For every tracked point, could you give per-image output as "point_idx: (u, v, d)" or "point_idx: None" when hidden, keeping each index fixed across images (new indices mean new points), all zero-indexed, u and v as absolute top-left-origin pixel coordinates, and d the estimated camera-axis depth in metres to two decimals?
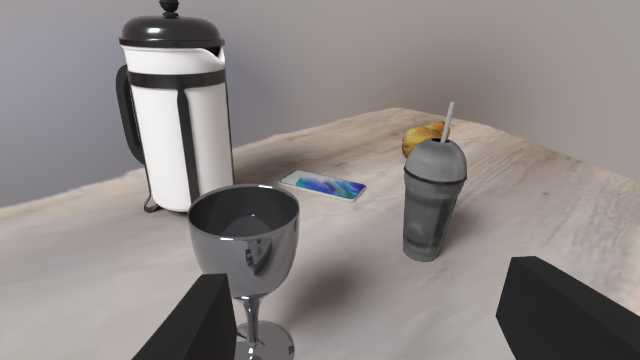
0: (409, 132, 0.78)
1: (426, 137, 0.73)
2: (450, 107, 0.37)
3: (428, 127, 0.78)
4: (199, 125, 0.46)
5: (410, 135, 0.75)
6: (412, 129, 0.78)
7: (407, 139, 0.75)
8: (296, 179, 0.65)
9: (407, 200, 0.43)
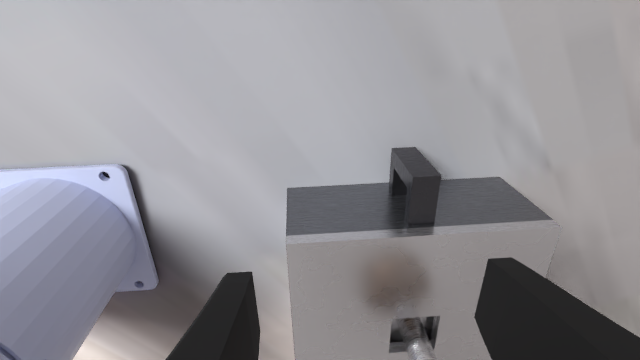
0: None
1: None
2: None
3: None
4: None
5: None
6: None
7: None
8: None
9: None
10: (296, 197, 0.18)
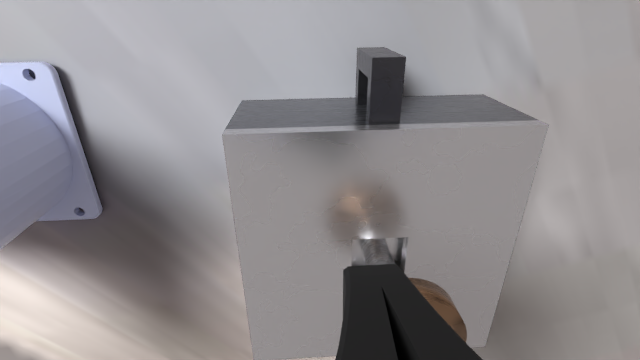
0: None
1: None
2: None
3: None
4: None
5: None
6: None
7: None
8: None
9: None
10: (249, 105, 0.16)
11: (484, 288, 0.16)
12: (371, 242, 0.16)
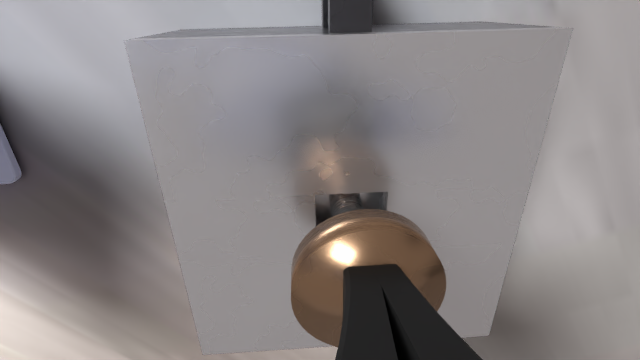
0: None
1: None
2: None
3: None
4: None
5: None
6: None
7: None
8: None
9: None
10: (186, 31, 0.13)
11: (487, 260, 0.13)
12: None
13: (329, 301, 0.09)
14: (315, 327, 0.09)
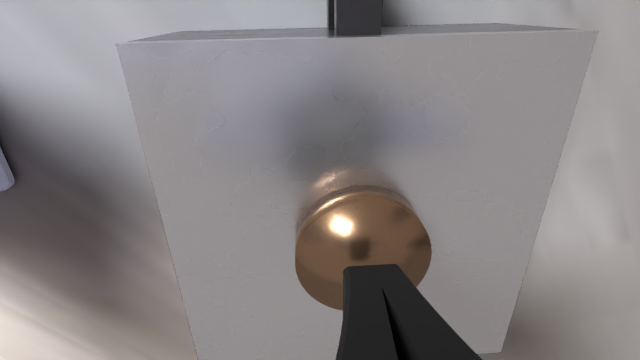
0: None
1: None
2: None
3: None
4: None
5: None
6: None
7: None
8: None
9: None
10: (185, 33, 0.12)
11: (501, 275, 0.12)
12: None
13: (328, 266, 0.10)
14: (316, 290, 0.11)
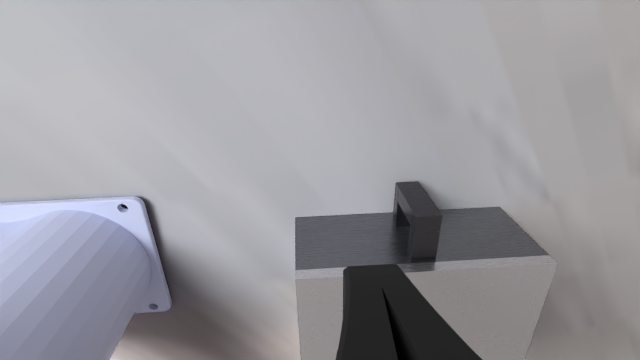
0: None
1: None
2: None
3: None
4: None
5: None
6: None
7: None
8: None
9: None
10: (304, 227, 0.19)
11: None
12: None
13: None
14: None
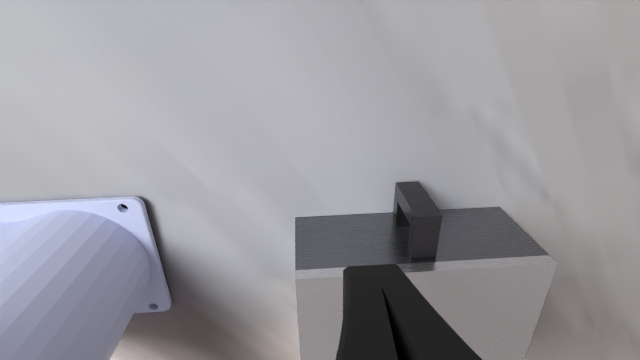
0: None
1: None
2: None
3: None
4: None
5: None
6: None
7: None
8: None
9: None
10: (304, 227, 0.19)
11: None
12: None
13: None
14: None
